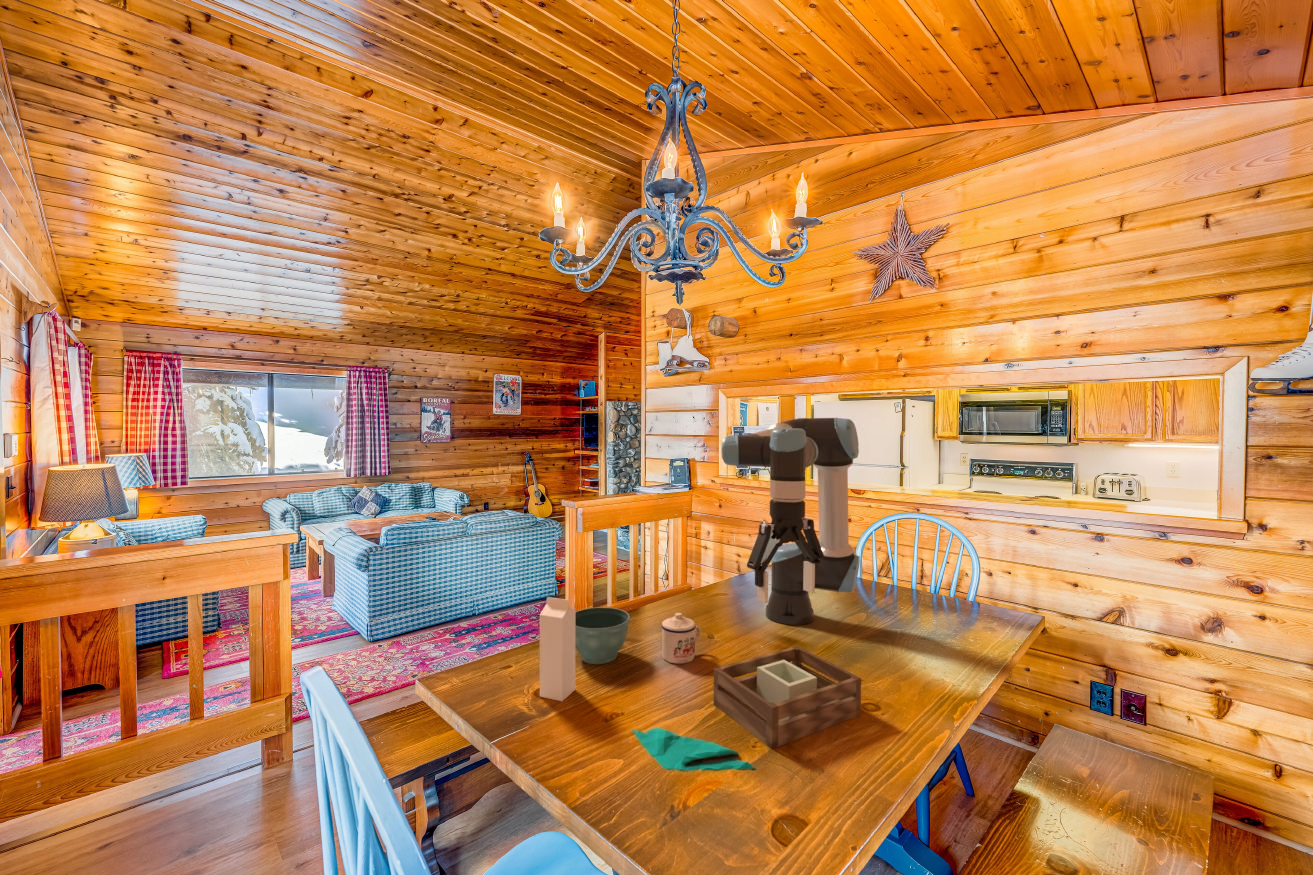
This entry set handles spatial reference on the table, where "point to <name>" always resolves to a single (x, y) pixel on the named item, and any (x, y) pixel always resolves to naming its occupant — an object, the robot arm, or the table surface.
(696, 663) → the table surface
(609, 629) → the flower pot
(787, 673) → the small crate
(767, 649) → the table surface
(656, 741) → the cloth
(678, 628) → the teacup with lid
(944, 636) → the table surface
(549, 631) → the milk
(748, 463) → the robot arm
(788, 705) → the crate
